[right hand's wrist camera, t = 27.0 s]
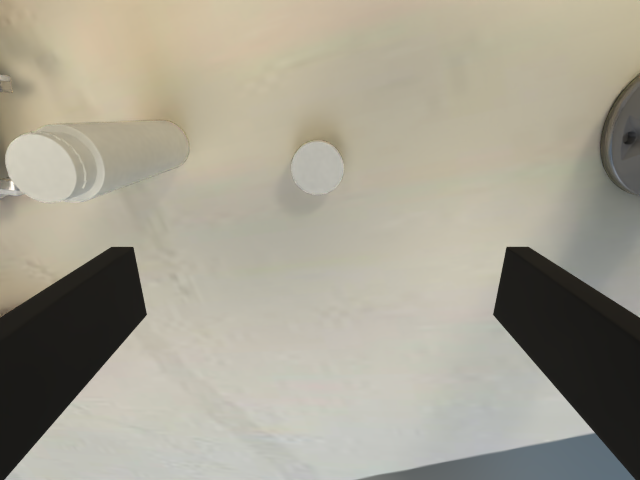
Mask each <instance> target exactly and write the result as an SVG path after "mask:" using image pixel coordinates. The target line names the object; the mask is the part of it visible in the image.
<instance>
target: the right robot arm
mask: <svg viewBox="0 0 640 480" xmlns="http://www.w3.org/2000/svg"><path fill="white" fill-rule="evenodd" d="M601 158H602V162H603V166H604V168H605V171H606V173H607V175H608V176H609V178H610V179H611V180H612V181H613V182H614V183H615V184H616V185H617V186H618V187H619V188H621V189H622V190H624V191H626V192H628V193H631V194H634V195H638V196H640V75H639V76H637V77H636V78H635V79H634V80H633V81H632V82H631V83H630V84H629V85H628V86H627V87H626V88H625V90H624V91H623V92H622V93H621V95H620V96H619V97H618V99H617V100H616V102H615V103H614V105H613V107H612V109H611V111H610V113H609V115H608V117H607V119H606V122H605V125H604V128H603V132H602V138H601ZM146 315H147V313H146V308H145V303H144V298H143V293H142V288H141V283H140V278H139V273H138V268H137V263H136V258H135V253H134V248H133V247H111V248H109V249H107V250H106V251H104V252H103V253H101V254H100V255H98V256H96V257H95V258H93V259H92V260H90V261H89V262H87V263H85V264H84V265H82V266H81V267H79V268H78V269H76V270H74V271H73V272H71V273H70V274H68V275H67V276H65V277H63V278H62V279H60V280H59V281H57V282H56V283H54V284H52V285H51V286H49V287H48V288H46V289H45V290H43V291H41V292H40V293H38V294H37V295H35V296H34V297H32V298H30V299H29V300H27V301H26V302H24V303H23V304H21V305H19V306H18V307H16V308H15V309H13V310H12V311H10V312H8V313H7V314H5V315H4V316H2V317H1V318H0V480H4V479H5V478H6V477H7V476H8V475H9V474H10V473H11V471H12V470H13V469H14V468H15V467H16V466H17V464H18V463H19V462H20V461H21V460H22V459H23V458H24V456H25V455H26V454H27V453H28V452H29V451H30V449H31V448H32V447H33V446H34V445H35V444H36V442H37V441H38V440H39V439H40V438H41V437H42V436H43V434H44V433H45V432H46V431H47V430H48V429H49V427H50V426H51V425H52V424H53V423H54V422H55V420H56V419H57V418H58V417H59V416H60V415H61V414H62V412H63V411H64V410H65V409H66V408H67V407H68V405H69V404H70V403H71V402H72V401H73V400H74V398H75V397H76V396H77V395H78V394H79V393H80V392H81V390H82V389H83V388H84V387H85V386H86V385H87V383H88V382H89V381H90V380H91V379H92V378H93V376H94V375H95V374H96V373H97V372H98V371H99V370H100V368H101V367H102V366H103V365H104V364H105V363H106V361H107V360H108V359H109V358H110V357H111V356H112V354H113V353H114V352H115V351H116V350H117V349H118V348H119V346H120V345H121V344H122V343H123V342H124V341H125V339H126V338H127V337H128V336H129V335H130V334H131V332H132V331H133V330H134V329H135V328H136V327H137V326H138V324H139V323H140V322H141V321H142V320H143V319H144V317H145V316H146ZM493 315H494V316H495V317H496V319H497V320H498V321H499V322H500V323H501V324H502V326H503V327H504V328H505V329H506V330H507V331H508V332H509V334H510V335H511V336H512V337H513V338H514V339H515V341H516V342H517V343H518V344H519V345H520V346H521V348H522V349H523V350H524V351H525V352H526V353H527V354H528V356H529V357H530V358H531V359H532V360H533V361H534V363H535V364H536V365H537V366H538V367H539V368H540V370H541V371H542V372H543V373H544V374H545V375H546V376H547V378H548V379H549V380H550V381H551V382H552V383H553V385H554V386H555V387H556V388H557V389H558V390H559V392H560V393H561V394H562V395H563V396H564V397H565V398H566V400H567V401H568V402H569V403H570V404H571V405H572V407H573V408H574V409H575V410H576V411H577V412H578V414H579V415H580V416H581V417H582V418H583V419H584V420H585V422H586V423H587V424H588V425H589V426H590V427H591V429H592V430H593V431H594V432H595V433H596V434H597V435H598V437H599V438H600V439H601V440H602V441H603V442H604V444H605V445H606V446H607V447H608V448H609V449H610V451H611V452H612V453H613V454H614V455H615V456H616V457H617V459H618V460H619V461H620V462H621V463H622V464H623V466H624V467H625V468H626V469H627V470H628V471H629V473H630V474H631V475H632V476H633V477H634V478H635V480H640V318H639V317H638V316H636V315H635V314H633V313H632V312H630V311H628V310H627V309H625V308H624V307H622V306H621V305H619V304H617V303H616V302H614V301H613V300H611V299H610V298H608V297H606V296H605V295H603V294H602V293H600V292H599V291H597V290H595V289H594V288H592V287H591V286H589V285H588V284H586V283H584V282H583V281H581V280H580V279H578V278H577V277H575V276H573V275H572V274H570V273H569V272H567V271H566V270H564V269H562V268H561V267H559V266H558V265H556V264H555V263H553V262H551V261H550V260H548V259H547V258H545V257H544V256H542V255H540V254H539V253H537V252H536V251H534V250H533V249H531V248H529V247H507V248H506V253H505V258H504V263H503V268H502V273H501V278H500V283H499V288H498V293H497V298H496V303H495V308H494V313H493Z"/></svg>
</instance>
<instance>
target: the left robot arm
mask: <svg viewBox="0 0 640 480" xmlns="http://www.w3.org/2000/svg"><path fill="white" fill-rule="evenodd" d="M0 92H8V93H13V91H12V84H11V79H10V76H7V75H0ZM7 195H13V196H18V195H24V193H23V192H22V191H20V190H19V189H18V188H17V187H16V185H15V184H14V183H13V182H12V180H11V179H10V177H7V178H6V179H5V178H2V179H0V199H1V198H3V197H5V196H7Z"/></svg>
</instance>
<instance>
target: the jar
mask: <svg viewBox="0 0 640 480" xmlns="http://www.w3.org/2000/svg"><path fill="white" fill-rule="evenodd" d="M188 154H189V142H188V139H187V137H186V135H185V133H184V132H183V130H182V129H181V128H180V127H179V126H177V125H176V124H174V123H172V122H170V121H166V120H149V121H121V122H94V123H66V124H49V125H45V126H43V127H40V128H39V129H37V130H36V131H33V132H28V133H25V134H21V135H20V136H19V137H17V138H15V139H14V140H13V141H12V142H11V143H10V145H9V146H8V148H7V151H6V156H5V163H6V168H7V171H8V176H9V177H10V179H11V180H12V182H13V183H14V184H15V185H16V187H17V188H18V189H19V190H20V191H22V192H23V193H24V194H25V195H27V196H28V197H30V198H32V199H34V200H37V201H40V202H44V203H57V202H61V201H65V202H72V203H78V202H84V201H87V200H90V199H93V198H95V197H98V196H101V195H103V194H106V193H109V192H111V191H114V190H117V189H120V188H122V187H125V186H128V185H130V184H133V183H136V182H138V181H141V180H144V179H147V178H149V177H152V176H155V175H157V174H160V173H163V172H165V171H168V170H171V169H174V168H176V167H179V166H180V165H182V164H183V163H184V162H185V160H186V159H187V157H188Z"/></svg>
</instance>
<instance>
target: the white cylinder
mask: <svg viewBox="0 0 640 480" xmlns="http://www.w3.org/2000/svg"><path fill="white" fill-rule="evenodd" d="M291 173H292V177H293V179H294V181H295V183H296V184H297V186H298V187H299V188H300V189H302V190H303V191H305V192H306V193H309V194H313V195H323V194H326V193H329V192H331V191H332V190H334V189H335V188H336V187H337V186H338V185H339V183H340V181H341V179H342V177H343V173H344V163H343V160H342V157H341V155H340V153H339V151H338V150H337V149H336V148H335V147H334V146H333V145H332V144H330V143H329V142H326V141H323V140H312V141H309V142H306V143H305V144H303V145H302V146H301V147H300V148H299V149H298V150H297V152H296V153H295V155H294V157H293V159H292V163H291Z"/></svg>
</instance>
